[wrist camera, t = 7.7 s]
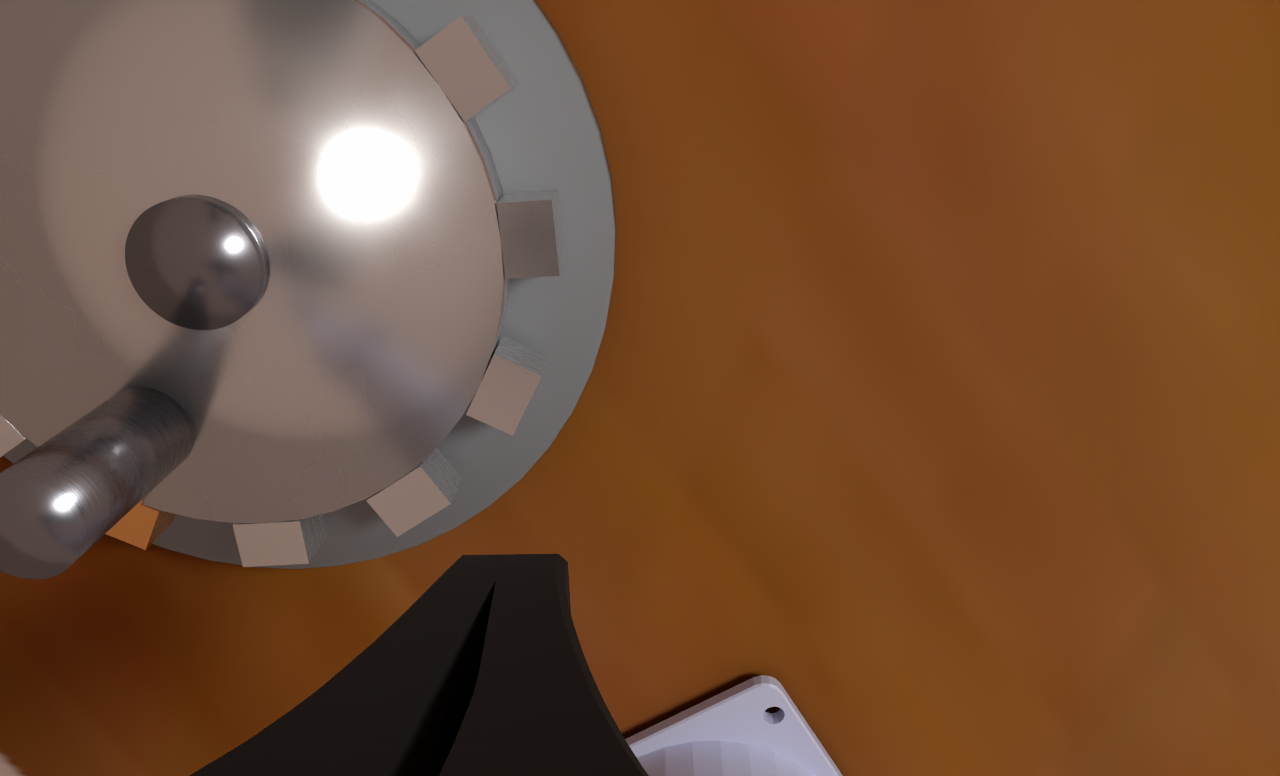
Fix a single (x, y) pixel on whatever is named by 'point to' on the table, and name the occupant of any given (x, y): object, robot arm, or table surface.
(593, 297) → the sprocket base
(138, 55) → the sprocket
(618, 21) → the table surface
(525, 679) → the robot arm
